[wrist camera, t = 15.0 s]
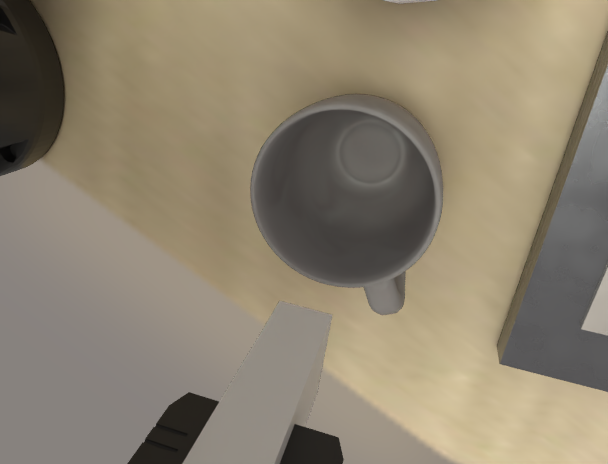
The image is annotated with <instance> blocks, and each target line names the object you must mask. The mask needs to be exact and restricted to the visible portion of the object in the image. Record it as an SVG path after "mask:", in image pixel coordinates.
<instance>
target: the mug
mask: <svg viewBox="0 0 608 464" xmlns="http://www.w3.org/2000/svg"><path fill="white" fill-rule="evenodd" d="M250 190H251V203H252V209H253V213H254V217H255V220H256V223H257V225H258V227H259V230H260V232H261V233H262V235H263V237H264V239H265V240H266V242H267V243H268V245H269V246H270V247H271V249H272V250H273V251H274V252H275V254H276V255H277V256H278V257H279V258H280V259H281V260H282V261H284V262H285V263H286V264H287V265H288V266H290V267H291V268H292V269H294V270H295V271H297V272H298V273H300V274H302V275H304V276H306V277H308V278H310V279H312V280H315V281H317V282H320V283H323V284H327V285H331V286H337V287H348V288H355V287H364V290H365V293H366V296H367V299H368V302H369V305H370V307H371V309H372V310H373V311H374V312H376V313H378V314H380V315H388V314H393V313H397V312H398V311H399V310H400V309H401V308H402V307H403V304H404V300H405V271H406V270H407V269H409V268H410V267H411V266H412V265H413V264H415V263H416V261H417V260H418V259H419V258H420V257H421V256H422V255H423V254H424V252H425V251H426V250H427V248H428V246H429V245H430V243H431V241H432V239H433V237H434V235H435V233H436V230H437V227H438V224H439V221H440V217H441V213H442V205H443V180H442V172H441V166H440V161H439V158H438V155H437V152H436V149H435V147H434V144H433V142H432V140H431V138H430V136H429V135H428V133H427V132H426V130H425V129H424V127H423V126H422V125H421V123H420V122H419V121H418V120H417V119H416V118H415V117H414V116H413V115H412V114H411V113H409V112H408V111H407V110H406V109H404V108H403V107H401V106H399V105H398V104H396V103H394V102H392V101H390V100H387V99H384V98H381V97H377V96H373V95H366V94H347V95H340V96H335V97H331V98H327V99H324V100H321V101H319V102H316V103H314V104H311V105H309V106H307V107H305V108H303V109H301V110H300V111H298V112H296V113H295V114H293V115H292V116H290V117H289V118H287V119H286V120H285V121H284V122H283V123H281V124H280V125H279V126H278V127H277V128H276V129H275V130H274V132H273V133H272V134H271V135H270V136H269V138H268V139H267V140H266V142H265V143H264V145H263V146H262V148H261V150H260V152H259V154H258V156H257V159H256V161H255V164H254V168H253V171H252V177H251V188H250Z"/></svg>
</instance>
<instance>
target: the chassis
mask: <svg viewBox="0 0 608 464" xmlns="http://www.w3.org/2000/svg"><path fill="white" fill-rule="evenodd" d="M497 350H498V357H499V364H502V365H506V366H510V367H513V368H517V369H521V370H525V371H529V372H533V373H537V374H541V375H544V376H548V377H552V378H556V379H560V380H564V381H568V382H572V383H576V384H579V385H583V386H587V387H591V388H595V389H599V390H603V391H607V392H608V32H607V35H606V38H605V40H604V43H603V46H602V49H601V52H600V55H599V57H598V60H597V63H596V66H595V69H594V72H593V75H592V77H591V80H590V83H589V86H588V89H587V92H586V94H585V97H584V100H583V103H582V106H581V109H580V111H579V114H578V117H577V120H576V123H575V126H574V128H573V131H572V134H571V137H570V140H569V143H568V145H567V148H566V151H565V154H564V157H563V160H562V162H561V165H560V168H559V171H558V174H557V177H556V179H555V182H554V185H553V188H552V191H551V194H550V197H549V199H548V202H547V205H546V208H545V211H544V214H543V216H542V219H541V222H540V225H539V228H538V231H537V233H536V236H535V239H534V242H533V245H532V248H531V250H530V253H529V256H528V259H527V262H526V265H525V267H524V270H523V273H522V276H521V279H520V282H519V284H518V287H517V290H516V293H515V296H514V299H513V301H512V304H511V307H510V310H509V313H508V316H507V319H506V321H505V324H504V327H503V330H502V333H501V336H500V338H499V341H498V344H497Z"/></svg>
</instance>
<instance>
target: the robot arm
mask: <svg viewBox="0 0 608 464" xmlns="http://www.w3.org/2000/svg"><path fill="white" fill-rule="evenodd" d="M62 112H63V82H62V75H61V69H60V65H59V61H58V57H57V54H56V51H55V48H54V45H53V43H52V40H51V38H50V35H49V33H48V31H47V29H46V27H45V25H44V23H43V21H42V20H41V18H40V16H39V15H38V13H37V11H36V10H35V8H34V7H33V6H32V4H31V3H30V1H29V0H0V176H1V175H5V174H8V173H11V172H14V171H17V170H19V169H22V168H25V167H27V166H29V165H31V164H33V163H34V162H36V161H37V160H39V159H40V158H41V157H42V156H43V155H44V154H45V153H46V152H47V150H48V149H49V148H50V146H51V145H52V143H53V141H54V139H55V137H56V135H57V132H58V130H59V126H60V123H61V118H62ZM331 320H332V315H331V314H328V313H324V312H320V311H316V310H313V309H309V308H305V307H302V306H298V305H294V304H290V303H287V302H283V301H279V303H278V304H277V306H276V308H275V309H274V311H273V313H272V314H271V316H270V318H269V319H268V321H267V323H266V324H265V326H264V328H263V329H262V331H261V333H260V334H259V336H258V338H257V339H256V341H255V343H254V345H253V347H252V348H251V350H250V351H249V353H248V355H247V357H246V358H245V360H244V361H243V363H242V365H241V366H240V368H239V370H238V371H237V373H236V375H235V376H234V378H233V380H232V381H231V383H230V385H229V387H228V388H227V390H226V391H225V393H224V395H223V396H222V398H221V400H220V401H219V402H218V401H215V400H212V399H209V398H205V397H202V396H199V395H196V394H193V393H187V394H186V395H184V396H183V397H181V398H180V399H178V400H177V401H175V402H174V403H172V404H171V405H169V407H168V408H167V410H166V411H165V412H164V414H163V415H162V417H161V418H160V419H159V421H158V422H157V424H156V426H155V427H154V428H153V429H152V430H151V432H150V433H149V434H148V436H147V437H146V439H145V442H144V443H142V444H141V446H140V447H139V448H138V450H137V451H136V453H135V454H134V455H133V457H132V458H131V460H130V461H129V462H128V464H342V463H343V455H342V451H341V446H340V442H339V438H338V437H335V436H332V435H329V434H325V433H322V432H319V431H316V430H313V429H309V428H306V427H305V426H306V423H307V420H308V418H309V415H310V412H311V409H312V407H313V404H314V401H315V398H316V395H317V392H318V387H319V382H320V377H321V372H322V367H323V361H324V356H325V351H326V346H327V341H328V335H329V330H330V325H331Z"/></svg>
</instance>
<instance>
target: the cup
mask: <svg viewBox="0 0 608 464" xmlns="http://www.w3.org/2000/svg"><path fill="white" fill-rule="evenodd" d="M384 1H389V2H394V3H399V4H402V3H413V2H424V1H436V0H384Z"/></svg>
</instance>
